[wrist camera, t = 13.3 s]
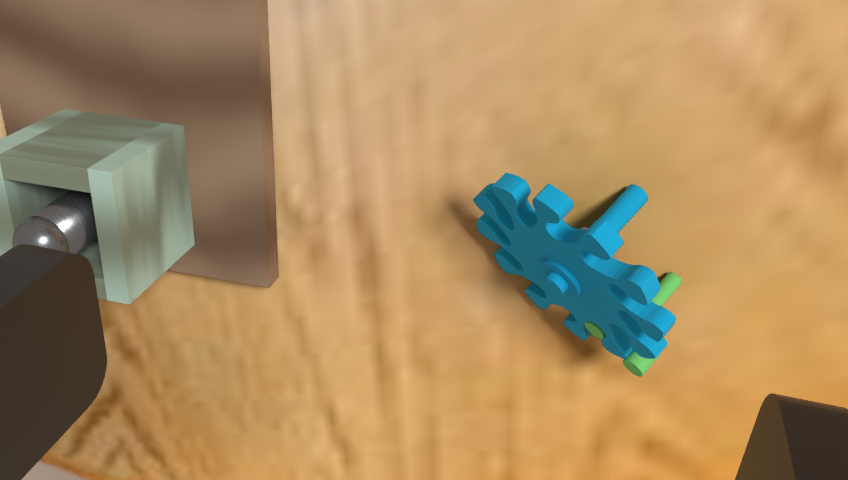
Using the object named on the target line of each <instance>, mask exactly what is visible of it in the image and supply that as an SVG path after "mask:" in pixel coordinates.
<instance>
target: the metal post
mask: <svg viewBox="0 0 848 480" xmlns="http://www.w3.org/2000/svg"><path fill="white" fill-rule="evenodd" d="M97 238H98V236H97V229H96V223H95V216H94V210H93V203H92V197H91V193H88V192H82V191H76V190H70V191H68V192H67V193H65V194H64V195H62V196H60V197H59V198H57V199H56V200H54V201H53V202H51V203H49V204H48V205H46V206H45V207H43V208H41V209H40V210H38V211H37V212H35V213H33V214H32V215H30V216H29V217H27V218H26V219H24V220H23V221H22V222H20V224H19V225H18V226H17V227H16V229H15V231H14V234H13V238H12V245H13V247H15V246H17V245H20V244H29V245H34V246H39V247H44V248H49V249H54V250H59V251H64V252H70V253H75V254H77V253H78V252H79V251H81V250H82V249H83V248H85V247H86V246H87V245H89V244H90V243H91V242H93V241H94V240H95V239H97Z"/></svg>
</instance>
